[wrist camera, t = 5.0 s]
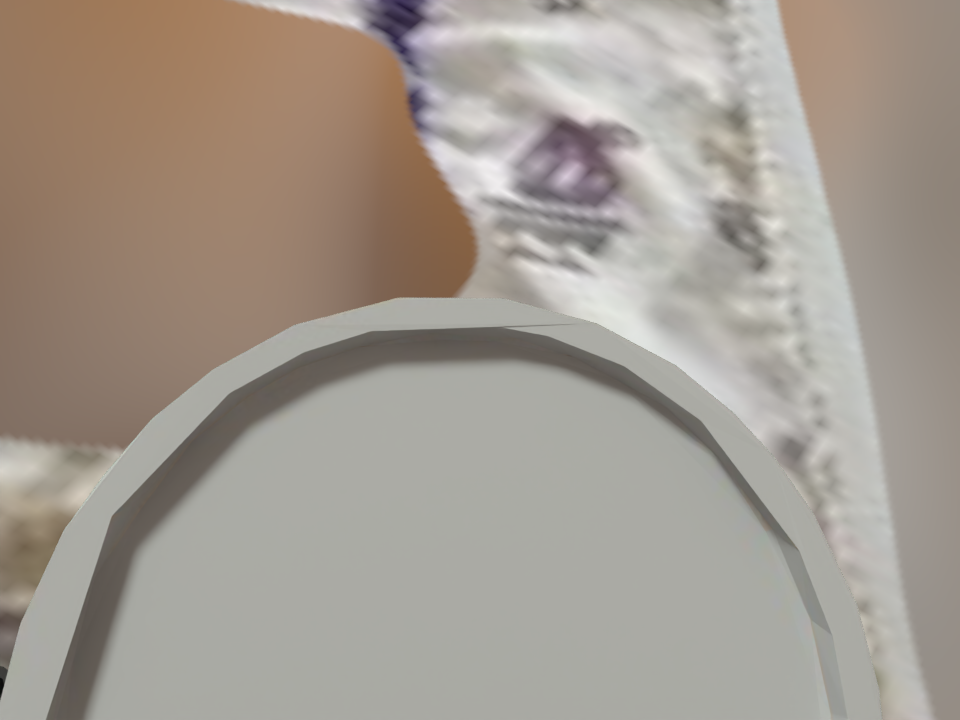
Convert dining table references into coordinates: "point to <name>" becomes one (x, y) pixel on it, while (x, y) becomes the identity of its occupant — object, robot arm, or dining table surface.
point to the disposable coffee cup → (443, 542)
